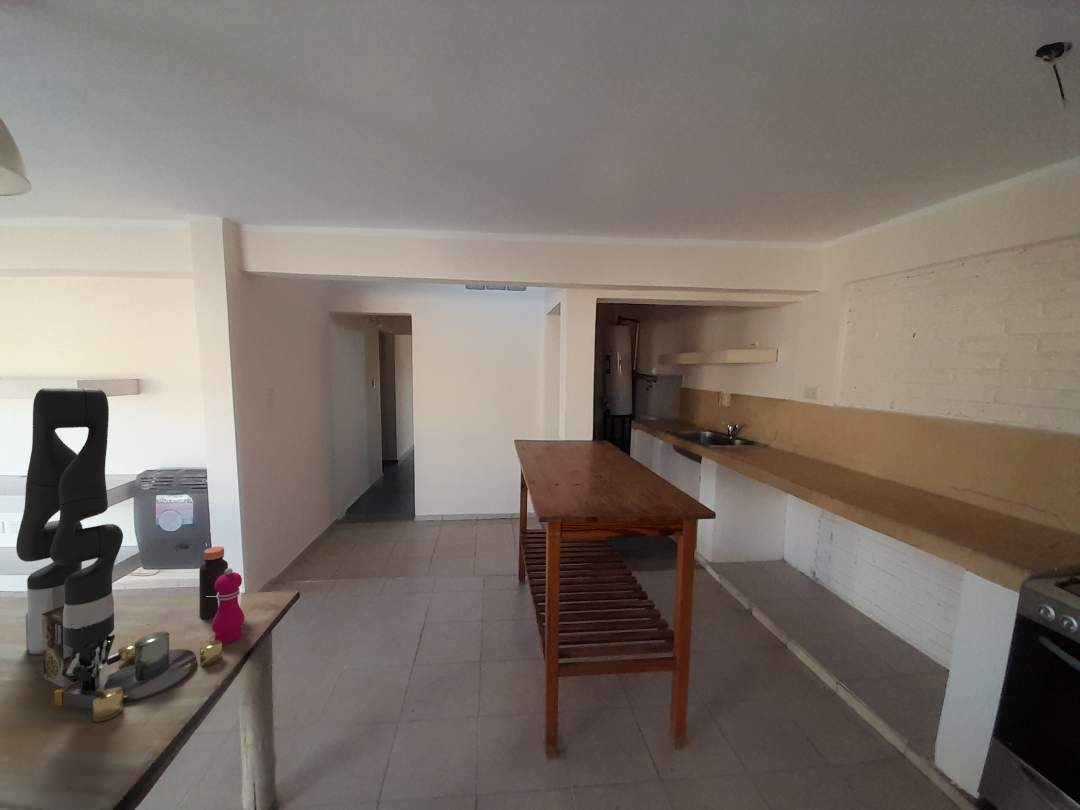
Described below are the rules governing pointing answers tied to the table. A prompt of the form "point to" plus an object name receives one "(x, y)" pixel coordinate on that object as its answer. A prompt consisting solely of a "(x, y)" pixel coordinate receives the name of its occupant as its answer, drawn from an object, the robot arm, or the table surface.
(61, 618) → the coffee box
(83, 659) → the robot arm
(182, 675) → the base
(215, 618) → the pepper mill
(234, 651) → the table surface
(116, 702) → the brass head mallet
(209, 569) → the bottle
